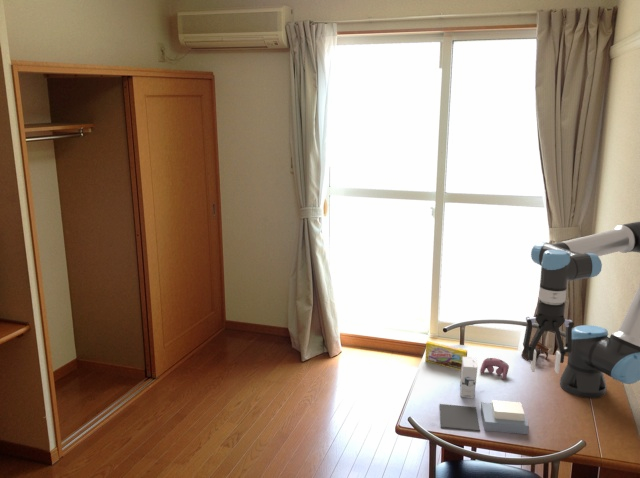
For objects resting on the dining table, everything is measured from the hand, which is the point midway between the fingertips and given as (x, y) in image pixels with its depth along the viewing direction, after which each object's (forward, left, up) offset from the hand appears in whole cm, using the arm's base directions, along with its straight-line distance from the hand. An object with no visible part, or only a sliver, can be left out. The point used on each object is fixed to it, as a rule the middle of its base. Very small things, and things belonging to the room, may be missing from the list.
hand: (544, 370), depth 179 cm
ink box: (+21, -18, -19) cm, 34 cm away
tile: (+10, 0, -16) cm, 19 cm away
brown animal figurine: (-7, -50, -19) cm, 54 cm away
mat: (+25, 0, -19) cm, 31 cm away
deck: (+11, 0, -19) cm, 22 cm away
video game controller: (+10, -34, -19) cm, 40 cm away
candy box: (+28, -38, -19) cm, 51 cm away
